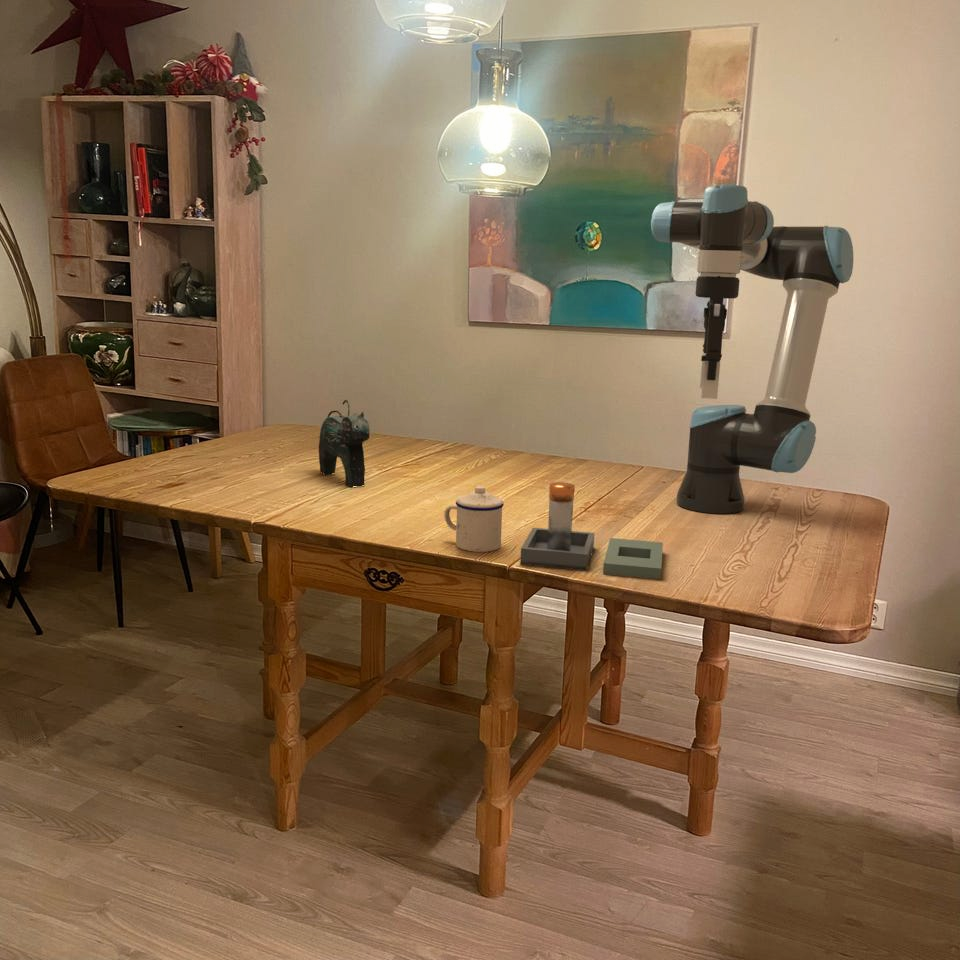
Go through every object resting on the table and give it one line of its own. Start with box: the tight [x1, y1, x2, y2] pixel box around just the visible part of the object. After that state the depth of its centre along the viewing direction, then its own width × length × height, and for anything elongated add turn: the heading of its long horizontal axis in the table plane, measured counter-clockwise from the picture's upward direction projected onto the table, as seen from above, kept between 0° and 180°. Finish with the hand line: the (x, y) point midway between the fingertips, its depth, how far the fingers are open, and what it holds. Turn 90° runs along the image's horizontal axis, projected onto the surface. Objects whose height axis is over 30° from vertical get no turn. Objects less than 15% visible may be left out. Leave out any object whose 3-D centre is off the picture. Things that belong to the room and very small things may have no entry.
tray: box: [519, 527, 595, 571], centre depth 174 cm, size 14×12×3 cm
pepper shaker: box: [547, 481, 576, 551], centre depth 172 cm, size 5×5×13 cm
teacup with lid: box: [443, 485, 505, 553], centre depth 178 cm, size 12×9×12 cm
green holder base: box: [602, 537, 664, 580], centre depth 171 cm, size 16×10×2 cm, turn 168°
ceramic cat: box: [318, 399, 370, 488], centre depth 225 cm, size 20×6×20 cm, turn 35°
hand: (708, 393), depth 172 cm, fingers open, 13 cm apart
